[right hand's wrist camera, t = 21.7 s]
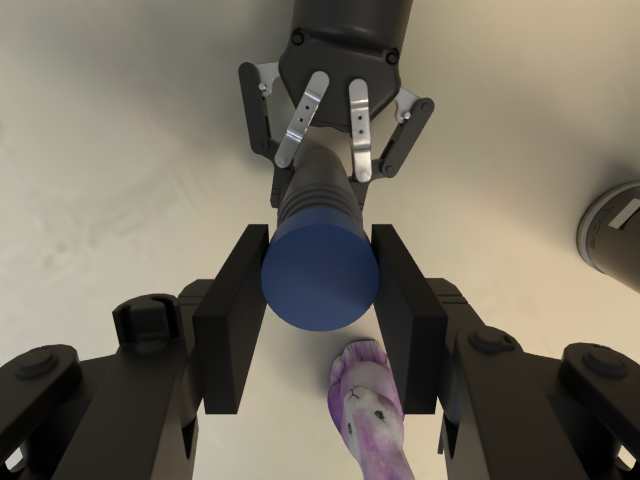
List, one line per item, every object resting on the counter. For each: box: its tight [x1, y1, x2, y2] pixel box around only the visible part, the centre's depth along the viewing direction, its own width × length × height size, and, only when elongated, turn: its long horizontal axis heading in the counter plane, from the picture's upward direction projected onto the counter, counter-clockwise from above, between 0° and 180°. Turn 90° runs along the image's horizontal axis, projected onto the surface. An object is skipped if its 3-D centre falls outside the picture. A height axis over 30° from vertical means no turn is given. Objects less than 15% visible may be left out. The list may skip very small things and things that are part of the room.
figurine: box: [328, 340, 415, 480], centre depth 34 cm, size 9×10×15 cm
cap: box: [261, 208, 379, 331], centre depth 13 cm, size 4×4×2 cm
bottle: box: [277, 148, 363, 228], centre depth 23 cm, size 4×4×22 cm
